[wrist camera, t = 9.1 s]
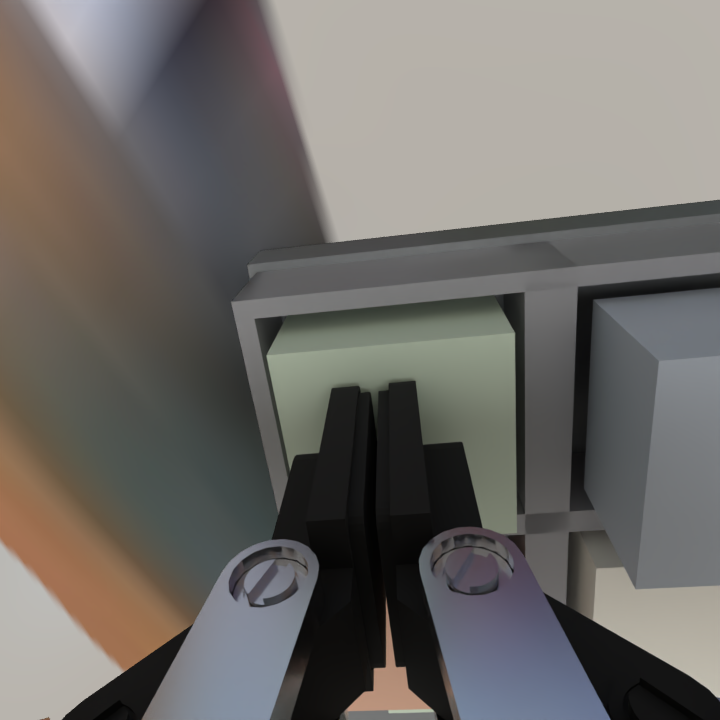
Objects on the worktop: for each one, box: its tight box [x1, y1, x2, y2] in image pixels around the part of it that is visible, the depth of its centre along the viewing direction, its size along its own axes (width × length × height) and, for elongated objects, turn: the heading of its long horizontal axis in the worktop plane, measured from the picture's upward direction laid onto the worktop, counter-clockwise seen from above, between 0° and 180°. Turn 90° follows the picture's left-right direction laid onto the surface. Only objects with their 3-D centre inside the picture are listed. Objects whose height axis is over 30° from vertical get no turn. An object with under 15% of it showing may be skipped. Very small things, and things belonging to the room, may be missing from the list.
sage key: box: [266, 295, 517, 534], centre depth 13 cm, size 5×5×3 cm
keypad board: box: [231, 200, 720, 720], centre depth 16 cm, size 13×17×4 cm
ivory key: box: [566, 530, 720, 698], centre depth 15 cm, size 5×5×3 cm
